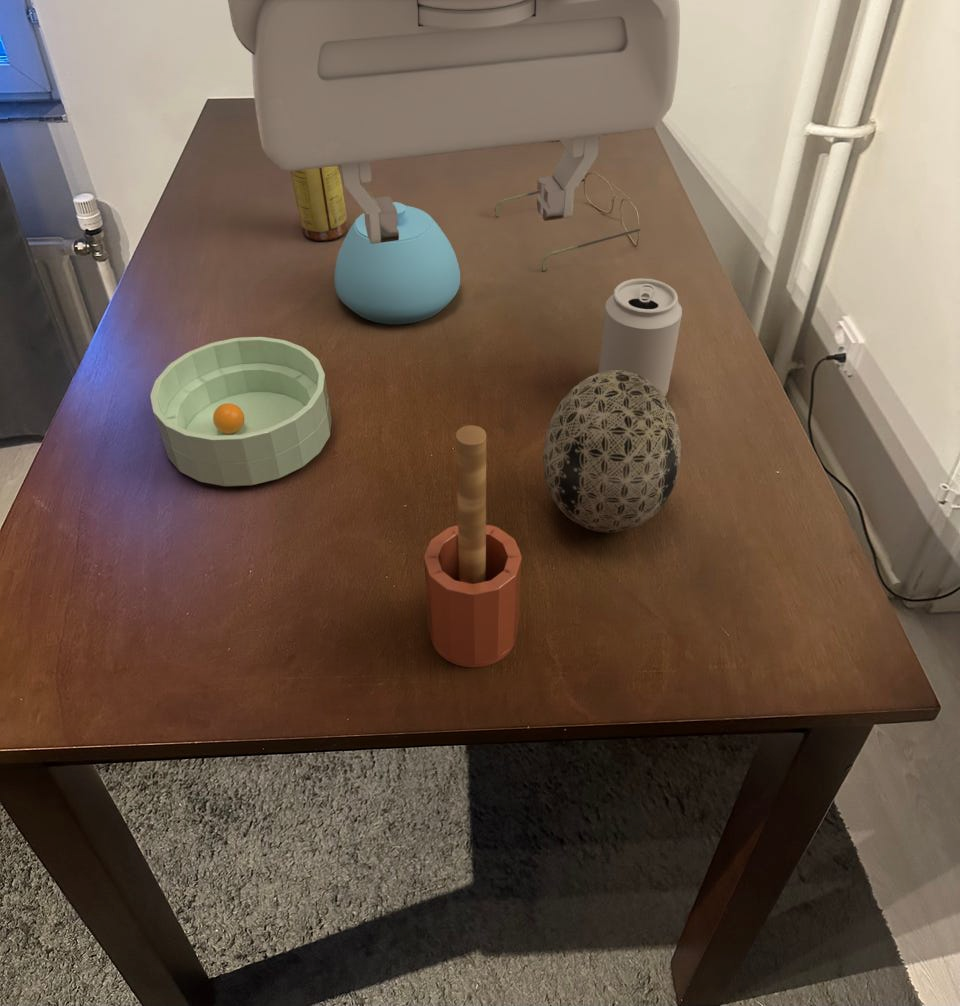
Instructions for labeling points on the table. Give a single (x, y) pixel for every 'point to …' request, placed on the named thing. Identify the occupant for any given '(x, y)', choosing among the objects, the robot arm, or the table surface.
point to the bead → (228, 418)
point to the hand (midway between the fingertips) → (469, 226)
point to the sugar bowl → (397, 270)
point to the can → (641, 330)
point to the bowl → (259, 394)
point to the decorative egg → (612, 452)
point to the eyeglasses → (591, 204)
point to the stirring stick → (471, 503)
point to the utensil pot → (473, 600)
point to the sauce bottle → (320, 202)
